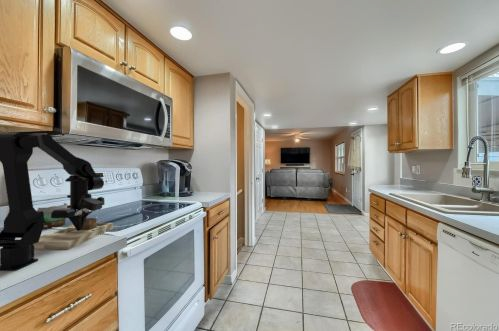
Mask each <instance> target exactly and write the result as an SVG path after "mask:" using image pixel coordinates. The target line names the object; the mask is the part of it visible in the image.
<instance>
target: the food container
mask: <svg viewBox="0 0 499 331" xmlns="http://www.w3.org/2000/svg"><path fill="white" fill-rule="evenodd" d="M68 205H69V204H68V203H67V202H64V203H63V204H62V205H52V206H49V207H38V208H37V210H36V211H43V213H44V221H45V222H46V223H44V228H43V230H46V228H49V229H53V228H52V227H56V228H59V227H63V226H65V225H66V220H67V218H51V212H52V211H53V210H57V209H61V208H67V206H68Z"/></svg>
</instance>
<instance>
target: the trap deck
mask: <svg viewBox="0 0 499 331" xmlns="http://www.w3.org/2000/svg"><path fill="white" fill-rule="evenodd" d="M113 229H114V222H97V227H96V228H93V229H91V230H80V231H77V230H76V228H75V227H74V225H73V224H72V225H69V226H66V227H63V228H60V229H58V230H55V231H52V232H48V233H45V234H41V236H40V239H39V242H37V243H35V244H33V245H34V250H35V249H37V250H43V249H44V250H71V249H72V248H74V247H76V246H78V245H81V244H83V243H85V242H88V241H89V239H90V240H91V238H92V239H94V238H96V237H98V236H100V235H102V234H104V233H103V232H105V233H106V232H108V231H111V230H113ZM101 233H102V234H101ZM99 234H100V235H99ZM97 235H98V236H97ZM95 236H96V237H95ZM93 237H94V238H93Z"/></svg>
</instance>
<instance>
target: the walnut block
mask: <svg viewBox="0 0 499 331" xmlns="http://www.w3.org/2000/svg"><path fill="white" fill-rule="evenodd" d="M97 219H98V218H97V217H86V219H85V222H84V224H83V227H82V229H81V230H91V229H93V228H96V227H97V223H98V222H97V221H98V220H97Z"/></svg>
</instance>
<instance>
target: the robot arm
mask: <svg viewBox="0 0 499 331" xmlns="http://www.w3.org/2000/svg"><path fill="white" fill-rule="evenodd" d="M34 148H38V149H40V150H41V151H43V152H44V153H45V154H47V155H48V156H50V157H52V158H53V159H54V160H55V161H57V162H58V163H60V164H61V165H62V168H63V170H64V171H65V172H66V173H67V174H68V175H69V177H67V178H66V179H65V180H64V181H65V183H66V182H69V194H67V195H66V197H67V199H69V204H67V205H68V206H67V208H61V209H57V210H53V211H52V212H51V218H66V219H68V220H69V221H70V222H71V224H72V225H74V227H75V228H76V230H77V231H80V230H81V229H82V227H83V224H84V222H85V219H86V218H88V216H90V214H92V213H93V212H95V211H99V210H101V209H103V206H105V197H103V196H98V197H97V198H96V197H95V198H93V197H92V194H91V193H89V191H94V190H100V189H102V188H103V187H104V185H105V181H104V179H103V178H102V177H101V176H100V174H99V173H97V174H96V172H95V170H94V168H93V166H92V164H91V163H90V162H89V161H88V160H86V159H84V158H81V157H78V156H75V155H74V154H73V153H72V152H70V151H69V150H68V149H66V147H64V146H63V145H62V144H60V143H59V142H58V141H56V140H55V139H54V138H53V137H52V135H51V134H48V133H46V132H45V133H40V132H39V133H38V132H35V133H34V132H33V133H30V134H26V133H24V132H0V163H1V164H2V170H3V176H4V182H5V189H6V195H7V202H8V203H7V204H8V208H9V209H8V210H9V211H8V213H7V214H6V217H5V218H4V220H3V229H2V230H1V231H0V271H17V270H20V269H22V268H24V267H26V266H28V265H31V264H33V263H34V262H37V261H39V258H35V249H34V245H33V244H35V243H37V242H39V239H40V236H42V232H43V230H44V229H43V228H44V223H46V222H45V221H44V213H43V211H37V210H36V209H35V207H34V204H33V203H34V202H33V197H32V189H31V188H32V187H31V181H30V173H29V167H28V161H29V160H30V159H31V157H32V155H33V152H34Z"/></svg>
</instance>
